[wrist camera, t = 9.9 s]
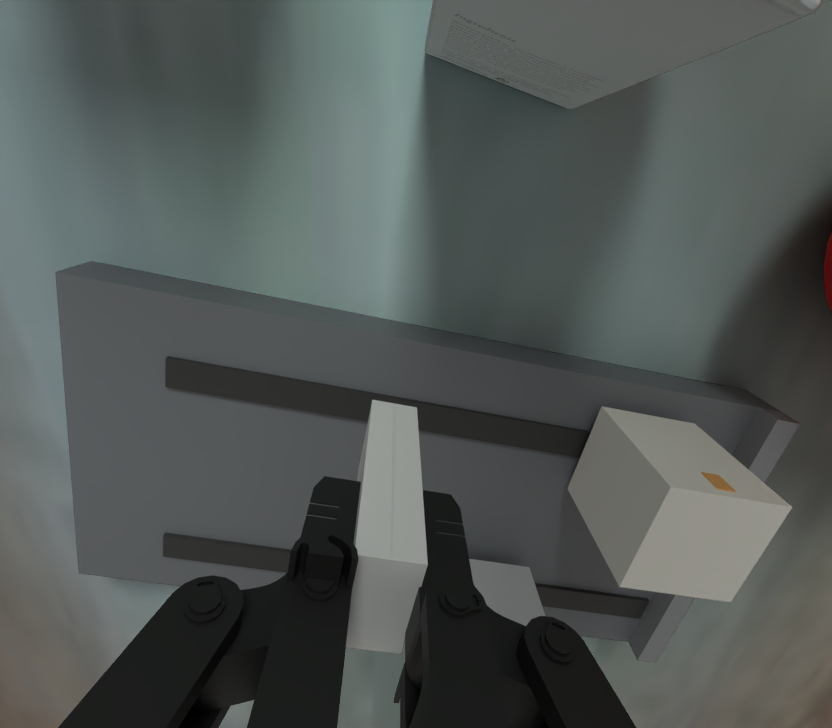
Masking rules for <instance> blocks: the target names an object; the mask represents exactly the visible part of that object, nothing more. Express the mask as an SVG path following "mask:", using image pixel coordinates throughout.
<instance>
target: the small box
mask: <svg viewBox="0 0 832 728" xmlns="http://www.w3.org/2000/svg"><path fill="white" fill-rule="evenodd" d="M821 2H822V0H433V4H432V9H431V15H430V20H429V25H428V31H427V37H426V44H425V52H426V53H427V54H429V55H432V56H434V57H437V58H440V59H443V60H445V61H447V62H450V63H452V64H455V65H457V66H460V67H462V68H465V69H468V70H470V71H473V72H475V73H478V74H480V75H483V76H485V77H488V78H491V79H493V80H496V81H498V82H501V83H503V84H506V85H508V86H511V87H513V88H516V89H518V90H521V91H523V92H526V93H529V94H531V95H534V96H536V97H539V98H541V99H544V100H547V101H549V102H552V103H554V104H557V105H560V106H562V107H564V108H567V109H574V108H577V107H579V106H582V105H584V104H587V103H589V102H592V101H594V100H597V99H600V98H602V97H605V96H607V95H610V94H613V93H615V92H617V91H619V90H622V89H625V88H627V87H630V86H632V85H635V84H637V83H640V82H643V81H645V80H648V79H650V78H653V77H655V76H657V75H660V74H662V73H665V72H668V71H670V70H673V69H675V68H678V67H680V66H683V65H685V64H688V63H690V62H693V61H695V60H698V59H700V58H703V57H706V56H708V55H711V54H714V53H716V52H719V51H721V50H724V49H726V48H729V47H731V46H734V45H736V44H738V43H741V42H743V41H745V40H748V39H750V38H753V37H756V36H758V35H761V34H763V33H766V32H768V31H771V30H773V29H776V28H778V27H781V26H783V25H786V24H788V23H790V22H793V21H795V20H798V19H800V18H802V17H805V16H807V15H810V14H812V13H813V12H815V11H816V10H817V9H818V7H819V6H820V4H821Z"/></svg>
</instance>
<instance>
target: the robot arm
mask: <svg viewBox="0 0 832 728" xmlns="http://www.w3.org/2000/svg"><path fill="white" fill-rule="evenodd" d="M404 642H405V663H404V667H403V670H402V673H401V676H400V680H399V683H398V686H397V689H396V693H395V698H394V703H399V700H400V728H636V726H635V725H634V723H633V722H632V720H631V718H630V717H629V715H628V713H627V712H626V710H625V708H624V707H623V705H622V703H621V702H620V700H619V698H618V697H617V695H616V693H615V692H614V690H613V688H612V687H611V685H610V684H609V682H608V680H607V679H606V677H605V675H604V674H603V672H602V670H601V669H600V667H599V665H598V664H597V662H596V660H595V659H594V657H593V655H592V654H591V652H590V651H589V649H588V647H587V646H586V644H585V642H584V641H583V640H582V638H581V637H580V636H579V635H578V633H577V632H576V631H575V630H574V629H572V628H571V627H570V626H569V625H567V624H566V623H565V622H563V621H561V620H558V619H556V618H554V617H548V616H539V617H536V618H533V619H531V620H530V622H529V623H528V624H527V625H526V626H524V625H522V624H520V623H517V622H515V621H513V620H510V619H508V618H506V617H504V616H502V615H500V614H498V613H496V612H495V611H493V610H492V609H491V608H490V607H488V606H487V605H486V602H485V600H484V597H483V595H482V594H481V593H480V592H479V591H478V590H477V588H476V587H475V586H474V583H473V578H472V572H471V567H470V561H469V555H468V549H467V544H466V538H465V532H464V526H463V521H462V515H461V509H460V507H459V505H458V504H457V503H456V501H455V500H454V498H453V497H452V495H451V494H445V493H439V492H432V491H426V490H423V488H422V473H421V459H420V444H419V430H418V415H417V407H412V406H406V405H400V404H395V403H389V402H383V401H377V400H372V404H371V409H370V414H369V419H368V424H367V429H366V434H365V439H364V444H363V449H362V454H361V459H360V464H359V469H358V477H357V481H353V480H347V479H340V478H334V477H327V476H324V477H323V478H322V479H321V480H320V481H319V482H318V483H317V484H316V485H315V486H314V488H313V492H312V496H311V499H310V504H309V507H308V511H307V515H306V518H305V522H304V526H303V530H302V533H301V537H300V538H299V539H298V540H297V541H296V542H295V544H294V546H293V547H292V549H291V552H290V559H289V566H288V572H287V573H286V574H285V575H284V576H283V577H281V578H280V579H279V580H277V581H275V582H273V583H271V584H269V585H265V586H261V587H257V588H250V589H244V590H240V589H239V587H238V585H237V584H236V583H234V582H233V581H231V580H229V579H228V578H226V577H220V576H214V575H211V576H204V577H198V578H196V579H193V580H191V581H189V582H187V583H184V584H183V585H182V586H181V587H180V588H178V589H177V590H176V591H175V592H174V593H172V595H171V596H170V597H169V598H168V599H167V601H166V602H165V603H164V604H163V605H162V606H161V608H160V609H159V610H158V611H157V612H156V613H155V615H154V616H153V617H152V618H151V619H150V620H149V622H148V623H147V624H146V625H145V626H144V628H143V629H142V630H141V631H140V632H139V633H138V635H137V636H136V637H135V638H134V639H133V640H132V642H131V643H130V644H129V645H128V646H127V647H126V649H125V650H124V651H123V652H122V653H121V655H120V656H119V657H118V658H117V659H116V660H115V662H114V663H113V664H112V665H111V666H110V667H109V669H108V670H107V671H106V672H105V673H104V674H103V676H102V677H101V678H100V679H99V680H98V682H97V683H96V684H95V685H94V686H93V687H92V689H91V690H90V691H89V692H88V693H87V694H86V696H85V697H84V698H83V699H82V700H81V701H80V703H79V704H78V705H77V706H76V707H75V708H74V710H73V711H72V712H71V713H70V714H69V716H68V717H67V718H66V719H65V720H64V721H63V723H62V724H61V725H60V726H59V727H58V728H218V727H219V726H220V724H221V722H222V720H223V718H224V717H225V715H226V713H227V711H228V709H229V708H230V706H231V705H235V704H239V703H243V702H247V701H251V700H254V704H253V708H252V711H251V715H250V719H249V723H248V726H247V728H337V722H338V713H339V704H340V694H341V685H342V676H343V667H344V658H345V649H346V648H353V649H362V650H371V651H380V652H389V653H398V654H401V652H402V649H403V646H404Z"/></svg>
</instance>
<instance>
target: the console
mask: <svg viewBox="0 0 832 728" xmlns="http://www.w3.org/2000/svg"><path fill="white" fill-rule="evenodd" d="M56 284H57V297H58V310H59V323H60V336H61V349H62V362H63V376H64V389H65V402H66V415H67V428H68V441H69V454H70V467H71V480H72V493H73V506H74V519H75V532H76V545H77V558H78V571H79V573H80V574H88V575H96V576H104V577H112V578H120V579H128V580H136V581H144V582H152V583H160V584H168V585H176V586H182V585H183V584H184V583H187V582H189V581H191V580H193V579H196V578H198V577H204V576H211V575H214V576H220V577H226V578H228V579H229V580H231V581H233V582H234V583H236V584H237V585H238V587H239V589H240V590H244V589H250V588H257V587H261V586H265V585H269V584H271V583H273V582H275V581H277V580H279V579H280V578H281V577H283V576H284V575H285V574H286V573H287V572H288V566H289V559H290V552H291V549H292V547H293V546H294V544H295V542H296V541H297V540H298V539H299V538H300V537H301V533H302V530H303V526H304V522H305V518H306V515H307V511H308V507H309V504H310V499H311V496H312V492H313V488H314V486H315V485H316V484H317V483H318V482H319V481H320V480H321V479H322V478H323V477H324V476H327V477H334V478H340V479H347V480H353V481H357V477H358V469H359V464H360V459H361V454H362V449H363V444H364V439H365V434H366V429H367V424H368V419H369V414H370V409H371V404H372V400H377V401H383V402H389V403H395V404H400V405H406V406H412V407H417V415H418V430H419V444H420V459H421V473H422V488H423V490H426V491H432V492H439V493H445V494H451V495H452V497H453V498H454V500H455V501H456V503H457V504H458V505H459V507H460V509H461V515H462V521H463V526H464V532H465V538H466V544H467V549H468V555H469V559H475V560H482V561H489V562H496V563H504V564H511V565H518V566H525V567H529V568H530V571H531V574H532V577H533V580H534V583H535V586H536V589H537V592H538V595H539V598H540V601H541V604H542V607H543V610H544V613H545V616H548V617H554V618H556V619H558V620H561V621H563V622H565V623H566V624H567V625H569V626H570V627H571V628H572V629H574V630H575V631H576V632H577V633H578V635H579V636H587V637H595V638H603V639H611V640H619V641H627V642H629V644H630V646H631V648H632V650H633V652H634V654H635V656H636V658H637V660H638V661H647V662H655V663H656V661H657V660H658V658H659V657H660V655H661V653H662V652H663V650H664V648H665V647H666V645H667V643H668V642H669V640H670V638H671V637H672V635H673V633H674V632H675V630H676V628H677V627H678V625H679V624H680V622H681V620H682V619H683V617H684V615H685V614H686V612H687V610H688V609H689V607H690V605H691V604H692V602H693V600H694V599H695V597H689V596H682V595H674V594H667V593H660V592H653V591H645V590H638V589H631V588H624V587H619V585H618V583H617V581H616V580H615V578H614V576H613V574H612V572H611V570H610V568H609V566H608V564H607V563H606V561H605V559H604V557H603V555H602V553H601V551H600V549H599V547H598V546H597V544H596V542H595V540H594V538H593V536H592V534H591V532H590V530H589V529H588V527H587V525H586V523H585V521H584V519H583V517H582V515H581V513H580V512H579V510H578V508H577V506H576V504H575V502H574V500H573V498H572V496H571V495H570V493H569V491H568V486H569V484H570V481H571V479H572V476H573V474H574V472H575V469H576V467H577V464H578V462H579V460H580V457H581V455H582V452H583V450H584V447H585V445H586V443H587V440H588V438H589V435H590V433H591V431H592V428H593V426H594V423H595V421H596V419H597V416H598V414H599V411H600V409H601V406H603V407H608V408H614V409H619V410H624V411H630V412H635V413H641V414H646V415H651V416H657V417H662V418H668V419H673V420H678V421H684V422H689V423H695V424H696V425H697V426H698V427H699V428H701V429H702V430H703V431H704V432H705V433H706V434H708V435H709V436H710V437H711V438H712V439H713V440H715V441H716V442H717V443H718V444H719V445H720V446H722V447H723V448H724V449H725V450H726V451H727V452H729V453H730V454H731V455H732V456H733V457H734V458H736V459H737V460H738V461H739V462H740V463H741V464H743V465H744V466H745V467H746V468H747V469H748V470H750V471H751V472H752V473H753V474H754V475H755V476H757V477H758V478H759V479H760V480H761V481H762V482H764V483H765V482H766V480H767V478H768V477H769V475H770V473H771V472H772V470H773V468H774V467H775V465H776V463H777V462H778V460H779V458H780V457H781V455H782V453H783V452H784V450H785V449H786V447H787V445H788V444H789V442H790V440H791V439H792V437H793V435H794V434H795V432H796V430H797V429H798V427H799V425H800V424H799V423H798V422H796V421H795V420H793V419H791V418H790V417H788V416H787V415H785V414H783V413H782V412H780V411H779V410H777V409H776V408H774V407H772V406H771V405H769V404H768V403H766V402H765V401H763V400H761V399H760V398H758V397H757V396H755V395H753V394H752V393H750V392H749V391H747V390H742V389H737V388H732V387H727V386H722V385H717V384H711V383H706V382H701V381H696V380H691V379H686V378H681V377H676V376H671V375H666V374H661V373H656V372H651V371H645V370H640V369H635V368H630V367H625V366H620V365H615V364H610V363H605V362H600V361H595V360H590V359H585V358H579V357H574V356H569V355H564V354H559V353H554V352H549V351H544V350H539V349H534V348H529V347H524V346H518V345H513V344H508V343H503V342H498V341H493V340H488V339H483V338H478V337H473V336H468V335H463V334H458V333H452V332H447V331H442V330H437V329H432V328H427V327H422V326H417V325H412V324H407V323H402V322H397V321H392V320H386V319H381V318H376V317H371V316H366V315H361V314H356V313H351V312H346V311H341V310H336V309H331V308H325V307H320V306H315V305H310V304H305V303H300V302H295V301H290V300H285V299H280V298H275V297H270V296H265V295H259V294H254V293H249V292H244V291H239V290H234V289H229V288H224V287H219V286H214V285H209V284H204V283H199V282H193V281H188V280H183V279H178V278H173V277H168V276H163V275H158V274H153V273H148V272H143V271H138V270H132V269H127V268H122V267H117V266H112V265H107V264H102V263H97V262H92V261H91V262H87V263H84V264H81V265H77V266H74V267H71V268H67V269H64V270H61V271H57V272H56Z"/></svg>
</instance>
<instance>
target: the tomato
mask: <svg viewBox="0 0 832 728" xmlns="http://www.w3.org/2000/svg"><path fill="white" fill-rule="evenodd" d="M824 287H825V293H826V298H827V301H828V304H829V306H830V309H831V312H832V231H831V234H830V237H829V240H828V243H827V249H826V255H825V261H824Z"/></svg>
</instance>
